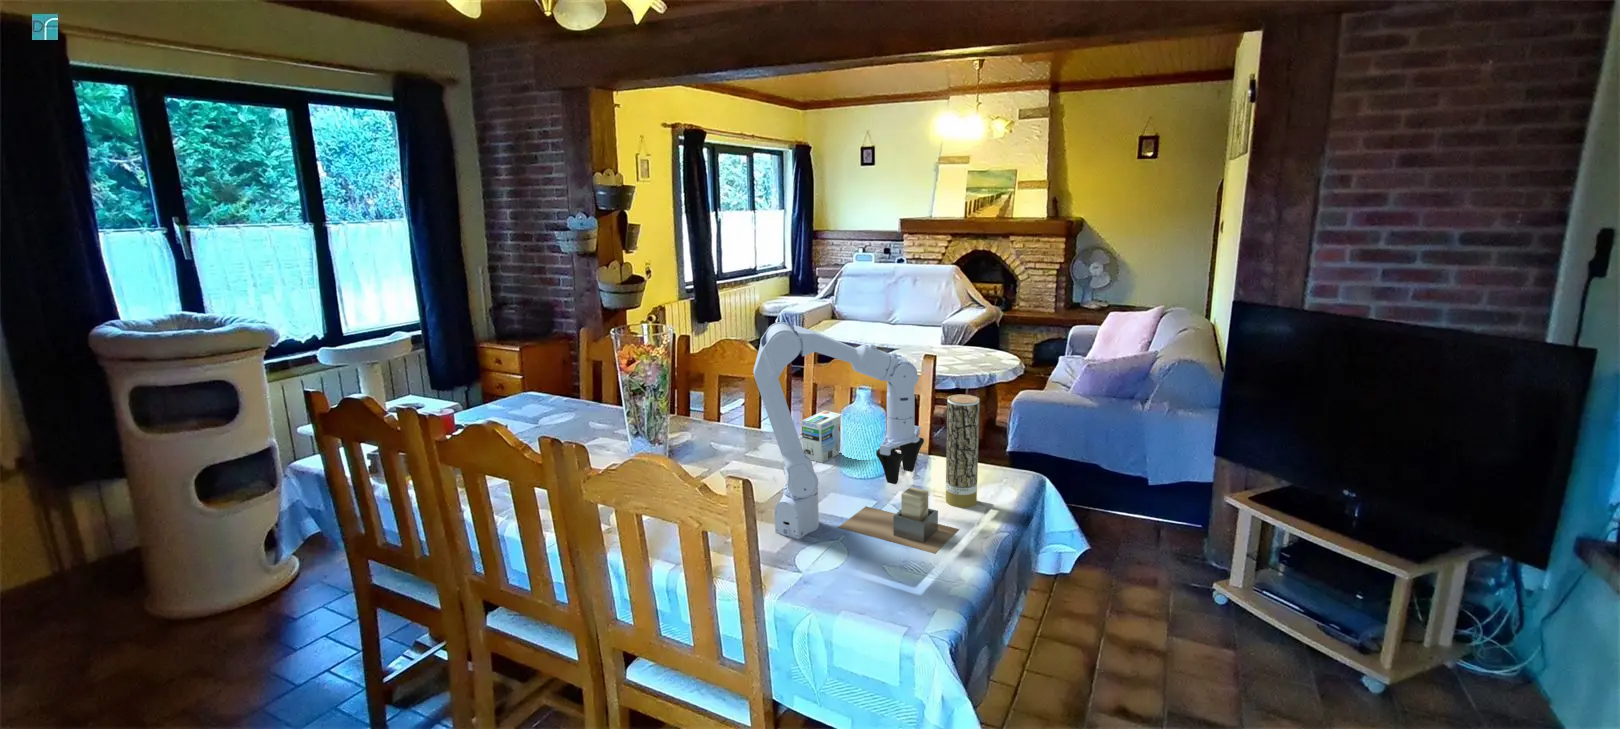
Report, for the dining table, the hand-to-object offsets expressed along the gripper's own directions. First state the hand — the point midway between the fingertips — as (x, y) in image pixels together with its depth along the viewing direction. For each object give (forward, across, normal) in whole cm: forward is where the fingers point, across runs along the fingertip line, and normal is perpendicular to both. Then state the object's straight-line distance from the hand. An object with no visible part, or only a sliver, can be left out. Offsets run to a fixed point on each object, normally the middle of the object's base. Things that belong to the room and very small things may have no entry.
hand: (900, 476), depth 157 cm
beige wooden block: (+8, -5, -6) cm, 11 cm away
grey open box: (+9, -5, -6) cm, 12 cm away
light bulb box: (+11, +26, +36) cm, 46 cm away
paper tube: (+11, +14, -8) cm, 19 cm away
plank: (+10, -5, -2) cm, 12 cm away
